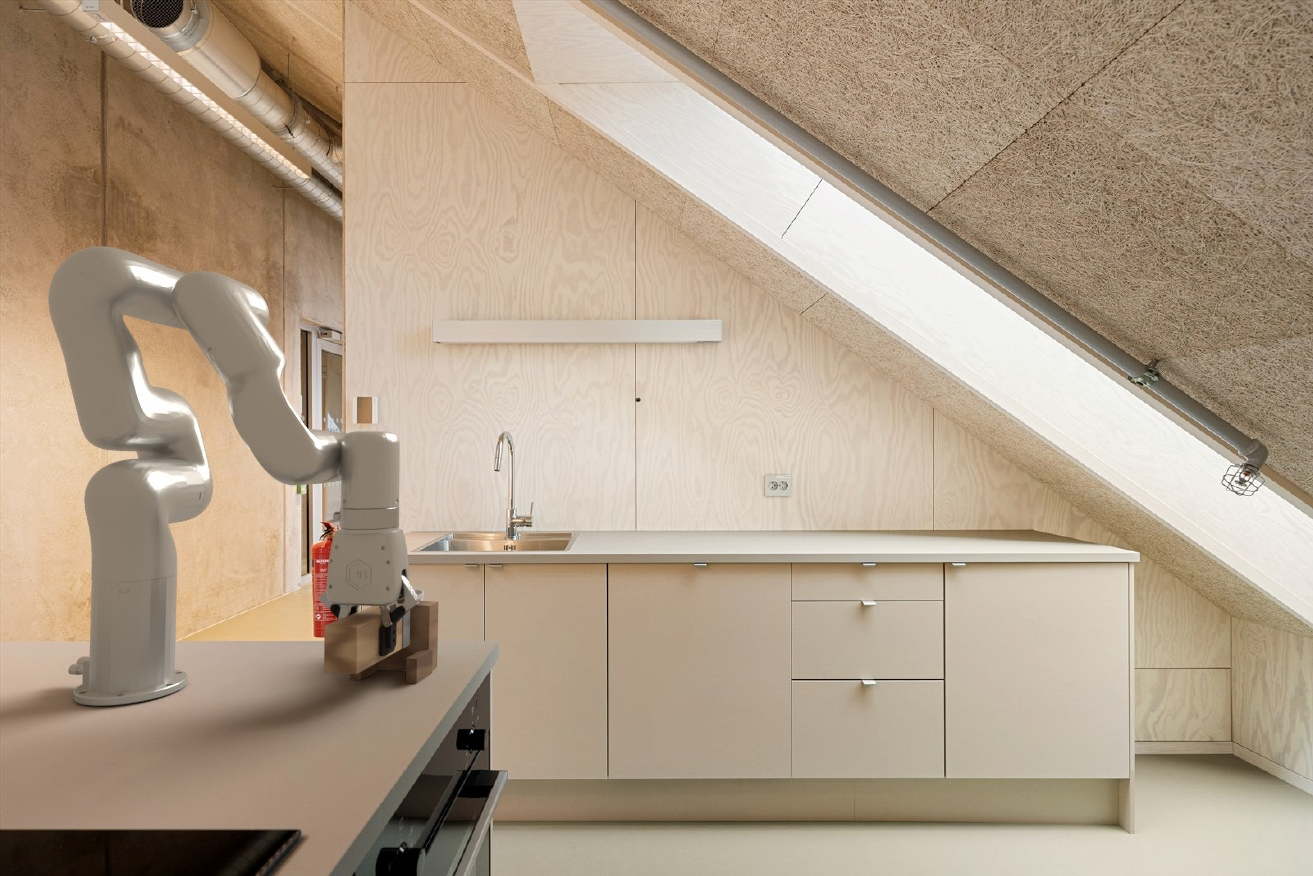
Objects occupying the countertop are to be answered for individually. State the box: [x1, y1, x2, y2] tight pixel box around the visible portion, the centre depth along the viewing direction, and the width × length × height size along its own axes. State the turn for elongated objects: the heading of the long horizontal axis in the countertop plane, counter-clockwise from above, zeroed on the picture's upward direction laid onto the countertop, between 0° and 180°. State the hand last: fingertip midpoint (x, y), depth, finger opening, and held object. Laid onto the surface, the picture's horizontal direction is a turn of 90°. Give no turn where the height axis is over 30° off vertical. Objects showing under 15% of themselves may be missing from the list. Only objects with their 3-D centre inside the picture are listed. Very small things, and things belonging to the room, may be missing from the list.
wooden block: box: [323, 604, 410, 674], centre depth 100 cm, size 5×14×6 cm, turn 172°
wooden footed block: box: [349, 599, 439, 684], centre depth 108 cm, size 10×8×11 cm
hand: (369, 651), depth 100 cm, fingers closed on wooden block, 4 cm apart
